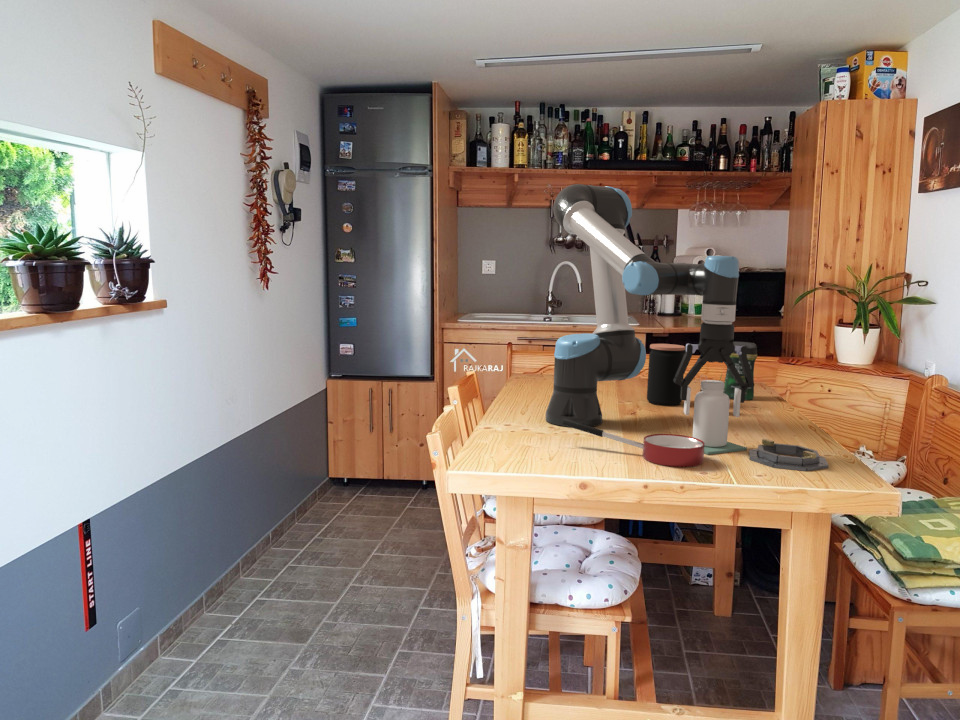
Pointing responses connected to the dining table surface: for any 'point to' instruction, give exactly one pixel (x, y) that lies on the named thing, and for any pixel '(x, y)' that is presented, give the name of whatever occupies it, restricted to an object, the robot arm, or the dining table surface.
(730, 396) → the coffee jar
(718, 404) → the pill bottle
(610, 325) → the robot arm
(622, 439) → the frying pan
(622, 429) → the dining table surface
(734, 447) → the rubber mat
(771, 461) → the ring
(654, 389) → the coffee jar
